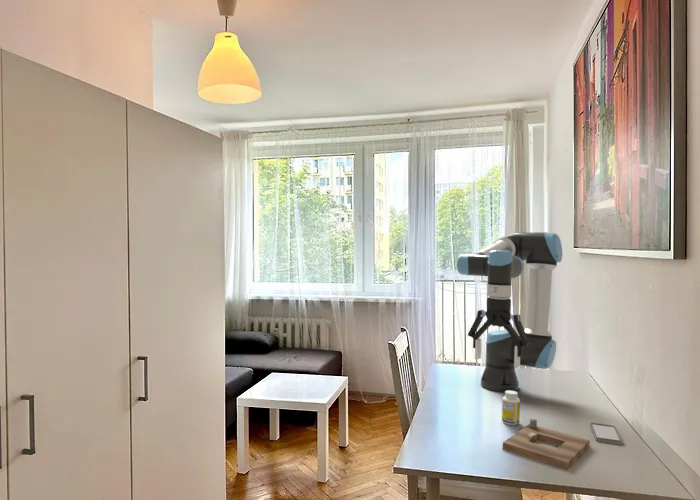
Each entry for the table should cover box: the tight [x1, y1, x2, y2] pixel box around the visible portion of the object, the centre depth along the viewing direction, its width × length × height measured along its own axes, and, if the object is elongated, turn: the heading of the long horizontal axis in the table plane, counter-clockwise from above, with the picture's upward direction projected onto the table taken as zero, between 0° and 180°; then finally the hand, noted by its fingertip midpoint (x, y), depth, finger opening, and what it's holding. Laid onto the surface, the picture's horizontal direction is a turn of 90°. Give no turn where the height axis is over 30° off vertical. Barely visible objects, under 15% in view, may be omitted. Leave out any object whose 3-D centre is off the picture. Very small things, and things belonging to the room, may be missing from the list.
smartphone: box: [589, 422, 624, 446], centre depth 154 cm, size 7×1×15 cm
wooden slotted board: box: [502, 418, 591, 471], centre depth 142 cm, size 20×18×4 cm
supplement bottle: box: [501, 390, 521, 426], centre depth 162 cm, size 6×6×10 cm
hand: (496, 362), depth 159 cm, fingers open, 13 cm apart
